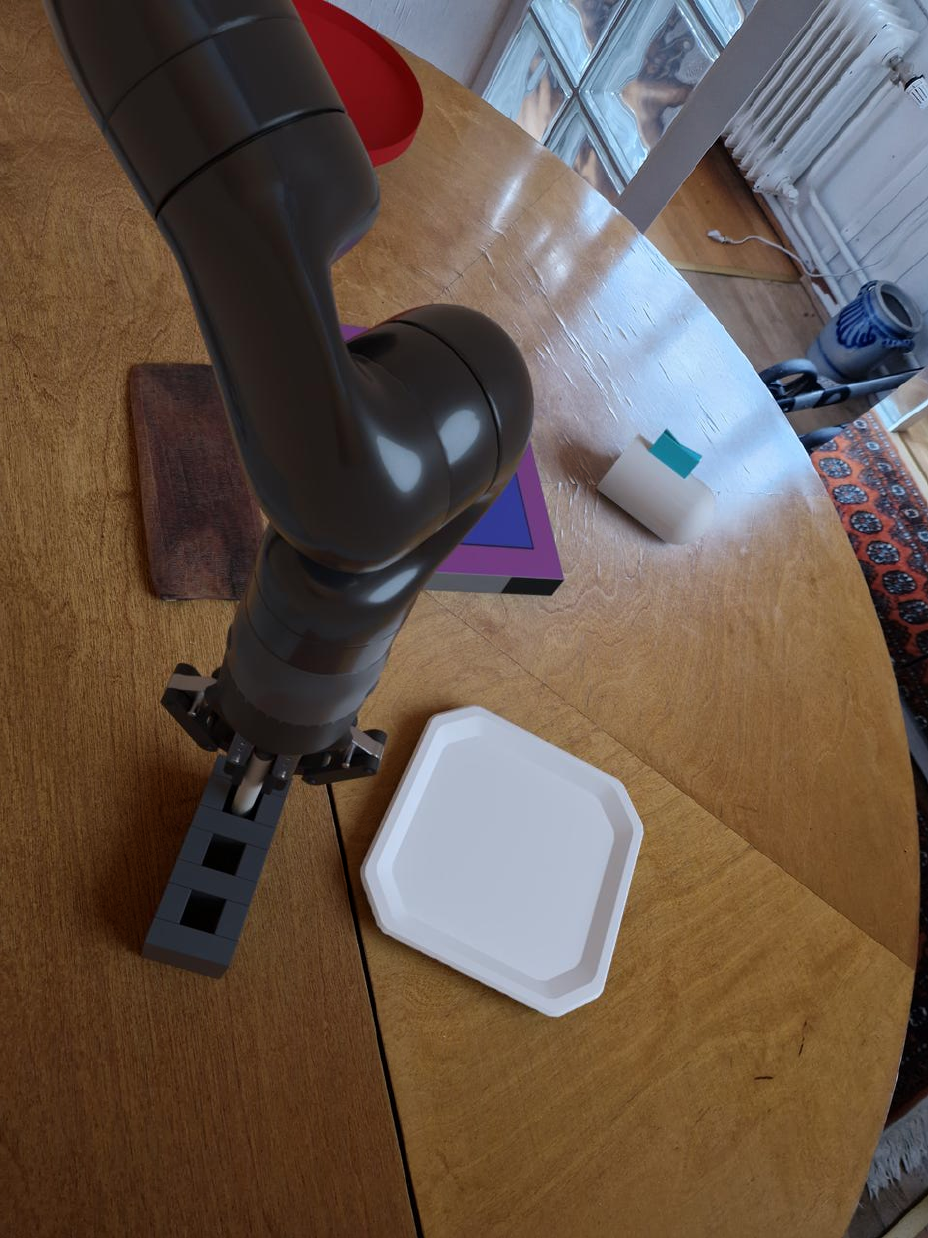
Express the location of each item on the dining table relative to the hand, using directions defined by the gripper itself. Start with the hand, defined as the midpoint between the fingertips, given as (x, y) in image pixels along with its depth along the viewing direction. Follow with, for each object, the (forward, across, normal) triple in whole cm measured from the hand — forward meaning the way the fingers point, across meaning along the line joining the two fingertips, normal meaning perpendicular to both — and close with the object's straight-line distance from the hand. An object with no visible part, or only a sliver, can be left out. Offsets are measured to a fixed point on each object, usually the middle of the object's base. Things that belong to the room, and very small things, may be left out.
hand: (254, 775), depth 58 cm
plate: (+10, -21, -4) cm, 24 cm away
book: (+10, -6, -41) cm, 43 cm away
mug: (+10, -31, -48) cm, 58 cm away
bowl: (+10, +23, -82) cm, 86 cm away
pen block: (+10, 0, +4) cm, 11 cm away
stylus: (+7, 0, 0) cm, 7 cm away
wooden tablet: (+10, +14, -29) cm, 33 cm away
